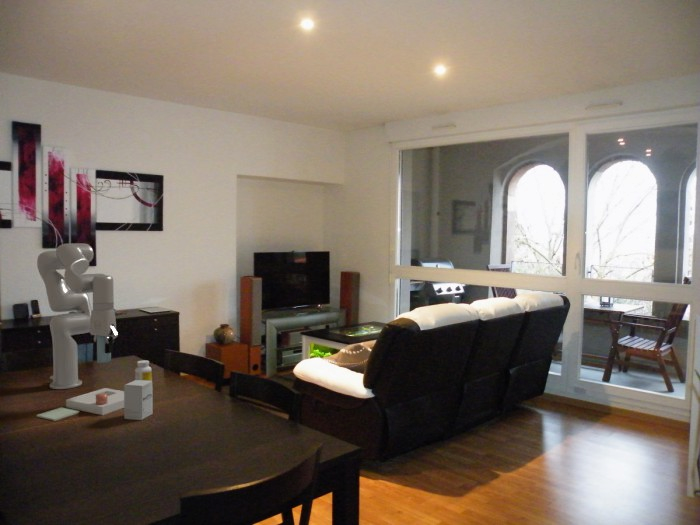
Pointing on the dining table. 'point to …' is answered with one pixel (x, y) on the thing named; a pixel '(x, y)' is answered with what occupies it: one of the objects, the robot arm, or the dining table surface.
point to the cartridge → (102, 350)
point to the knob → (101, 398)
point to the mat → (57, 413)
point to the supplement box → (138, 399)
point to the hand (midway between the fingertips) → (103, 351)
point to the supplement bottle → (143, 371)
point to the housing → (89, 401)
